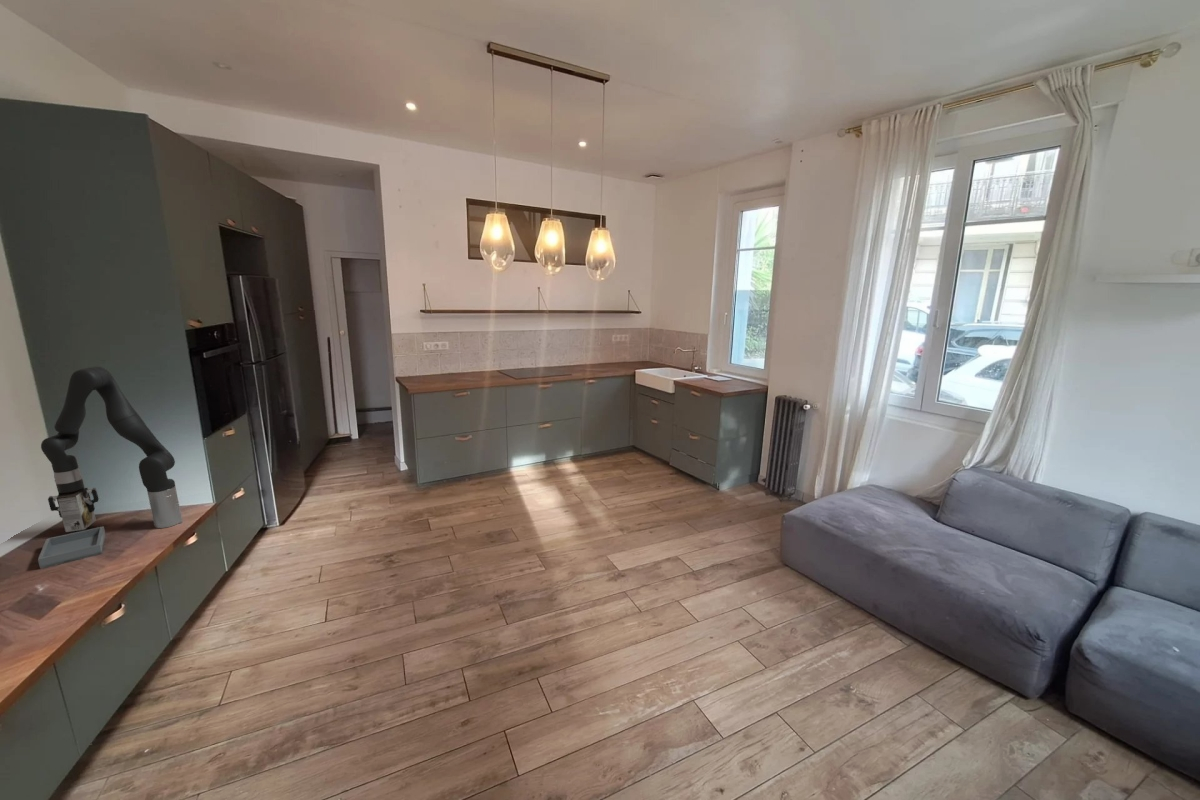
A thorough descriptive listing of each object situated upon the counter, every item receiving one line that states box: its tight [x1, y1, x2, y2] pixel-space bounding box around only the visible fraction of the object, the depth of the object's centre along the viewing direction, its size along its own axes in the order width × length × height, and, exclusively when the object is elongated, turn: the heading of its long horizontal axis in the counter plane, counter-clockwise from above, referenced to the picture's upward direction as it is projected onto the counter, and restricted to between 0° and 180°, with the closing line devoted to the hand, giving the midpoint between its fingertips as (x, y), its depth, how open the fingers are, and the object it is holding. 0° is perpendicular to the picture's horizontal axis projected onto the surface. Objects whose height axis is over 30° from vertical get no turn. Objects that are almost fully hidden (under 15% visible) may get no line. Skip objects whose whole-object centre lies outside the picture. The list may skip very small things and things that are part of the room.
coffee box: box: [56, 487, 97, 533], centre depth 200 cm, size 9×6×16 cm
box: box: [37, 526, 106, 570], centre depth 186 cm, size 16×20×4 cm
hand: (78, 514), depth 200 cm, fingers closed on coffee box, 7 cm apart
